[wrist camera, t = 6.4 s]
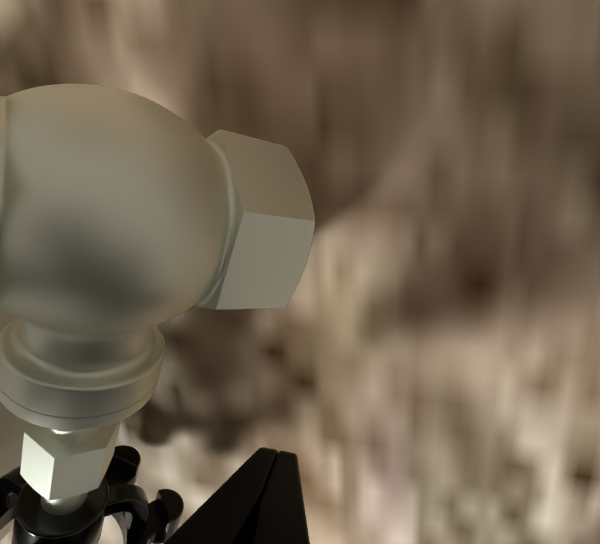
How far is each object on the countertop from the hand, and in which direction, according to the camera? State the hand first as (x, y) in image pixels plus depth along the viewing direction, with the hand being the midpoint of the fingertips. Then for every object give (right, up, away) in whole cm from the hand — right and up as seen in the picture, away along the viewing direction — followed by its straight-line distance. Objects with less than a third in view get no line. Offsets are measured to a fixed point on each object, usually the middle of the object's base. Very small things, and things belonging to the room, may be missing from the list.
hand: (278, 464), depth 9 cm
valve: (-1, +2, +2) cm, 3 cm away
